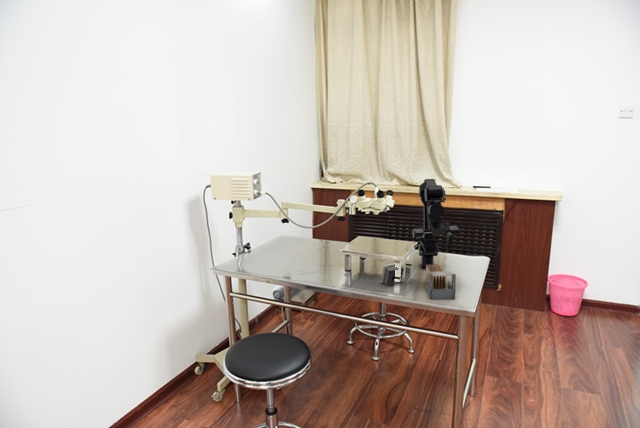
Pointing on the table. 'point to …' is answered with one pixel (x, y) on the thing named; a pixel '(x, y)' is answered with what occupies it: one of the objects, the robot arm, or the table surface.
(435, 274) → the grey open frame
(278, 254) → the table surface
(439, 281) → the heat-sink block
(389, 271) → the electrical switch
